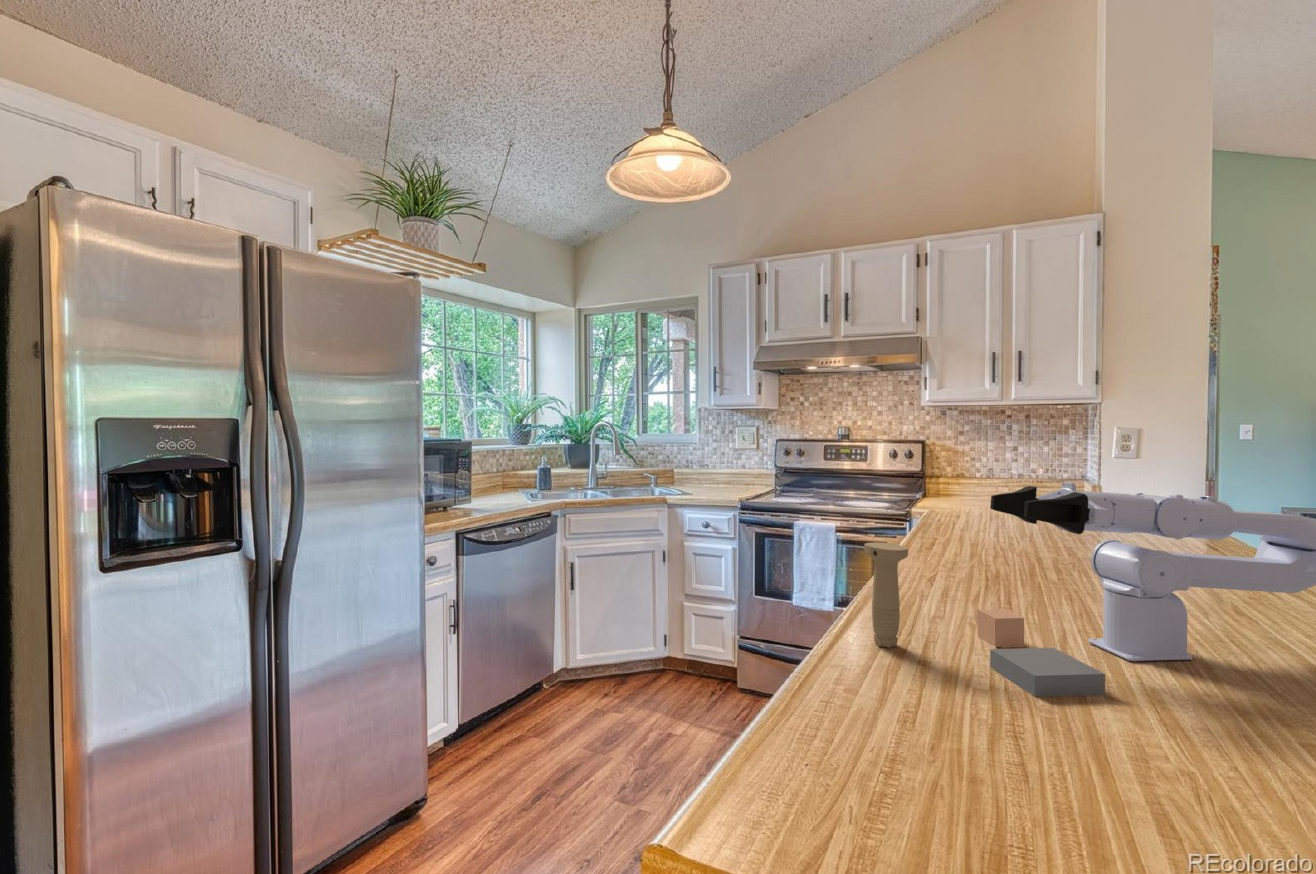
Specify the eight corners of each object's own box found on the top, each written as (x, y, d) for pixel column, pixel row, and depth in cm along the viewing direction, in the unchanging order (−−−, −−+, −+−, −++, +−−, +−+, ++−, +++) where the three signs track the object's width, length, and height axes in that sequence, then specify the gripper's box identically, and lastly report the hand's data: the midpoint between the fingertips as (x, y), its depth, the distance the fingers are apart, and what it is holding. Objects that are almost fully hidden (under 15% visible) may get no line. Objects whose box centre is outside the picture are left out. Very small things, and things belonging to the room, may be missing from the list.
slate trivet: (1053, 669, 84) (1053, 647, 84) (1105, 698, 75) (1105, 673, 75) (990, 671, 83) (990, 649, 83) (1034, 700, 74) (1034, 675, 74)
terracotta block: (1005, 637, 96) (1005, 609, 96) (1024, 647, 91) (1024, 618, 91) (977, 638, 95) (977, 609, 95) (995, 648, 91) (995, 618, 91)
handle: (892, 654, 88) (892, 551, 88) (857, 641, 94) (858, 544, 94) (914, 648, 91) (914, 548, 90) (879, 635, 96) (879, 541, 96)
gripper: (1064, 480, 96) (981, 474, 95) (1142, 489, 81) (1045, 482, 81) (1060, 524, 96) (977, 519, 95) (1138, 541, 81) (1040, 535, 81)
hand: (1008, 505), depth 88 cm, fingers open, 7 cm apart
